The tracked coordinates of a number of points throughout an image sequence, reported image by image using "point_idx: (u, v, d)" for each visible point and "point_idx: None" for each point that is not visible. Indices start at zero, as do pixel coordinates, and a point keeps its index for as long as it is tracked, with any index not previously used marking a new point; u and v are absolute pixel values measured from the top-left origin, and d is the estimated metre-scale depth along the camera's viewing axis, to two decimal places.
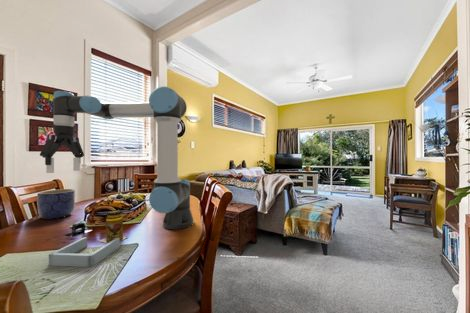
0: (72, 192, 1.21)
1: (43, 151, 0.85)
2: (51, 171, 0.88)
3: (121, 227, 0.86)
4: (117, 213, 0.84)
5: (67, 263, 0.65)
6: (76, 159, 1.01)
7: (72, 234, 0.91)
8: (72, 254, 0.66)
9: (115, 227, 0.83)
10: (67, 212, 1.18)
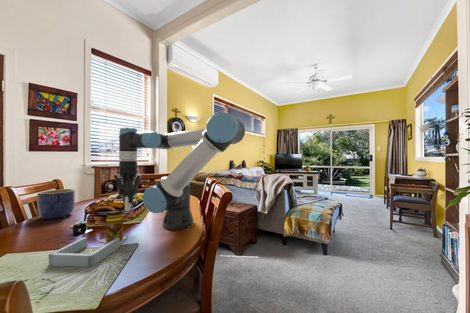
0: (72, 192, 1.21)
1: None
2: None
3: (121, 227, 0.86)
4: (117, 213, 0.84)
5: (67, 263, 0.65)
6: None
7: (75, 234, 0.91)
8: (72, 254, 0.66)
9: (115, 227, 0.83)
10: (67, 212, 1.18)
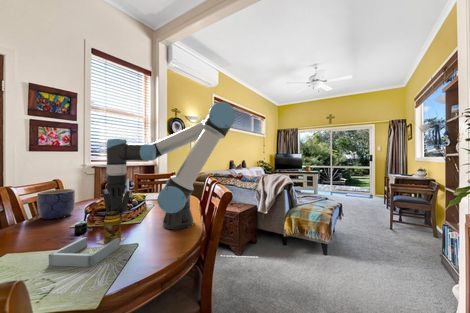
0: (72, 192, 1.21)
1: None
2: None
3: (119, 228, 0.84)
4: (115, 214, 0.83)
5: (67, 263, 0.65)
6: None
7: (78, 234, 0.91)
8: (72, 254, 0.66)
9: (113, 228, 0.82)
10: (67, 212, 1.18)
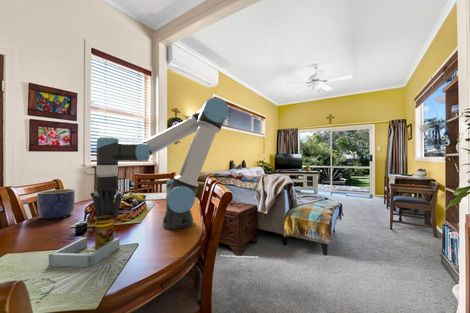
0: (72, 192, 1.21)
1: None
2: None
3: (113, 232, 0.80)
4: (109, 218, 0.78)
5: (67, 263, 0.65)
6: None
7: (79, 234, 0.92)
8: (72, 254, 0.66)
9: (107, 233, 0.77)
10: (67, 212, 1.18)
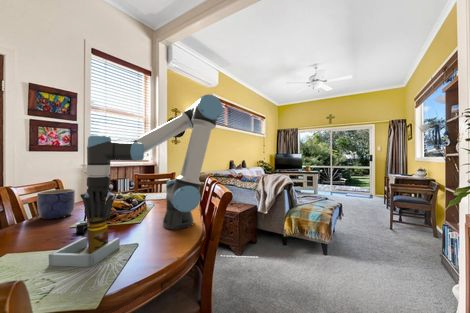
0: (72, 192, 1.21)
1: None
2: None
3: (107, 234, 0.77)
4: (105, 220, 0.75)
5: (67, 263, 0.65)
6: None
7: (81, 234, 0.92)
8: (72, 254, 0.66)
9: (104, 235, 0.74)
10: (67, 212, 1.18)
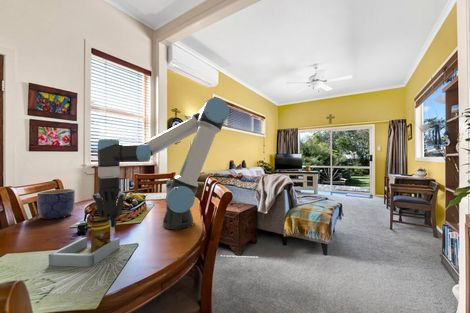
0: (72, 192, 1.21)
1: None
2: None
3: None
4: (106, 220, 0.76)
5: (67, 263, 0.65)
6: None
7: (82, 233, 0.92)
8: (72, 254, 0.66)
9: (105, 235, 0.75)
10: (67, 212, 1.18)
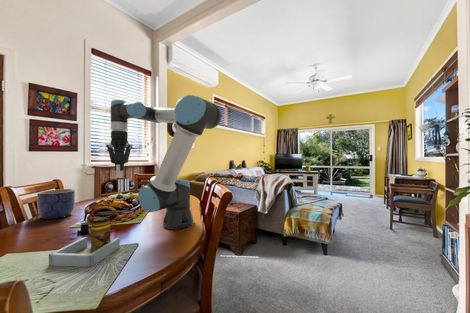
0: (72, 192, 1.21)
1: None
2: None
3: None
4: (106, 220, 0.76)
5: (67, 263, 0.65)
6: None
7: (87, 233, 0.93)
8: (72, 254, 0.66)
9: (105, 235, 0.75)
10: (67, 212, 1.18)
